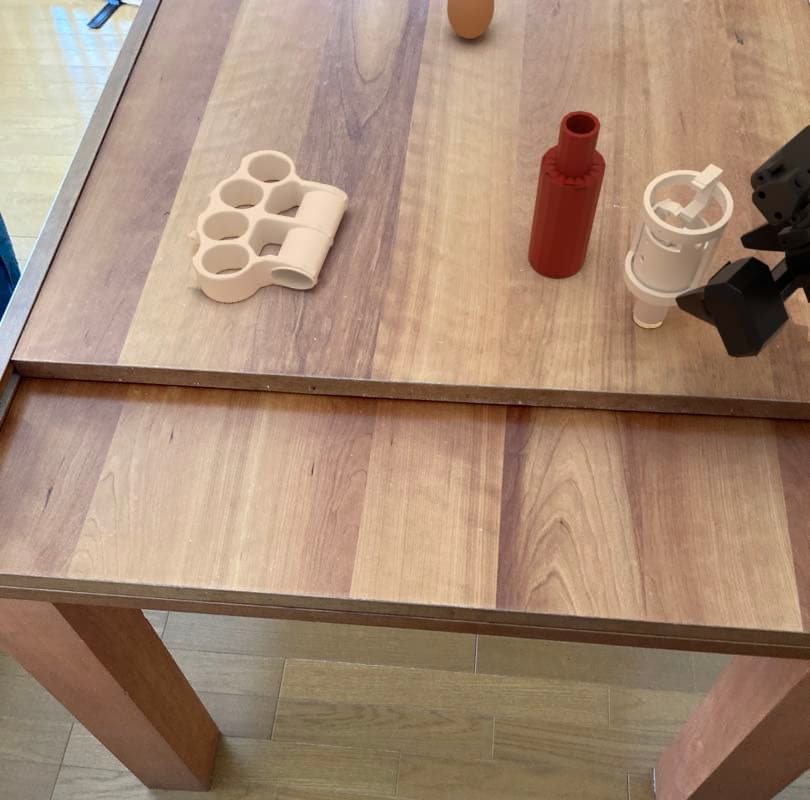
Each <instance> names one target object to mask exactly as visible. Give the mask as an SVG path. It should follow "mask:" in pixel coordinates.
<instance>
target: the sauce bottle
mask: <svg viewBox="0 0 810 800" xmlns="http://www.w3.org/2000/svg"><path fill="white" fill-rule="evenodd" d="M561 119H562V120H561V122H560V127H559V132H558V139H557V144H556V145H554V146H552V147H550V148H548V149H547V151H546V152H545V153H544V154H543V155H542V157H541V161H540V167H539V175H538V182H537V188H536V195H535V201H534V210H533V215H532V216H533V217H532V222H531V223H532V225H531V231H530V238H529V245H528V255H527V257H528V263H529V265H530V267H532V268H533V270H534V269H535V270H534V271H535V272H536V273H538V274H540V275H541V274H542V275H541V276H544V277H546V276H547V277H546V278H550V277H551V278H550V279H565V278H568V277H567V276H569V277H571V275H572V276H574V275H575V274H577V273H578V272H579V271H580V270H581V269H582V268H583V266H584V264H585V261H586V257H587V252H588V248H589V243H590V239H591V234H592V229H593V225H594V222H595V217H596V213H597V208H598V203H599V199H600V195H601V191H602V185H603V182H604V177H605V172H606V167H607V165H606V162H605V161H606V160H605V158H604V156H603V155H602V154H601V153H600V152H599V151H598V150H597V149H596V148H597V145H598V140H599V136H600V130H601V126H602V125H601V122H600V120H599V117H597V116H596V115H594V114H593V113H592V112H588V111H584V110H577V111H571V112H569V113H567V114H566V115H564V116H563V117H562V118H561ZM581 267H582V268H581ZM577 271H578V272H577ZM576 272H577V273H576ZM573 274H574V275H573ZM564 277H565V278H564Z"/></svg>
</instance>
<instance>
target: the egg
mask: <svg viewBox="0 0 810 800" xmlns="http://www.w3.org/2000/svg"><path fill="white" fill-rule="evenodd" d="M446 7H447V9H446V10H447V11H446V13H447V19H448V22H449V24H450V26H451V28H452V29H453V31H454V32H455V33H456V34H457V35H459V36H460V37H461V38H464V39H470V40H471V39H476V38H478V37H479V36H481V35H482V34H483V33H485V32H486V31H487V29H488V28H489V26H490V24H491V23H492V20H493V18H494V13H495V0H447V5H446Z"/></svg>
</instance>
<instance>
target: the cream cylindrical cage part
mask: <svg viewBox="0 0 810 800" xmlns="http://www.w3.org/2000/svg"><path fill="white" fill-rule="evenodd" d="M723 173H724V169H722V168H720V167H718V166H717V165H715V164H712V163H710V164H709V165H708V166H707V167H706V168H705V169H703V170H702V171H697V170H692V169H691V170H689V169H679V170H677V169H676V170H672V171H668V172H665V173H663V174H660V175H658V176H656V177H655V178H654V179H653V180H651V181H650V183H649V184H648V185H647V187H646V188H645V191H644V193H643V197H642V201H641V204H640V214H639V217H638V220H637V224H636V227H635V230H634V235H633V238H632V242H631V245H630V248H629V251H628V253H627V254H626V257H625V260H624V263H623V267H622V278H623V281H624V284H625V286H626V288H627V289H628V290H629V292H630V293H631V294H632V295H633V296H635V297H636V300H635V303H634V304H635V305H634V307H633V309H632V312H634V316H635V317H636V318H637V319H638V320H640V321H641V322H643V323H646V324H657V323H659V322H662V321H663V320H664V321H665V320H666V317H667V313H668V311H669V308H670V307H674V306H678V305H677V303H676V300H675V298H676V297H677V296H678V295H680V294H683V293H685V292H688V291H690V290H693V289H696V288H699V287H702V286H703V284H704V282H705V279H706V276H707V273H708V271H709V268H710V266H711V263H712V261H713V258H714V256H715V253H716V251H717V249H718V247H719V244H720V242H721V240H722V237H723V234H724V232H725V229H726V228H727V227H728V224H729V222H730V219H731V216H732V215H733V211H734V200H733V197H732V193H731V192H730V191H729V189H728V188H727V187H726V186H725V185H724V183H723V182H721V179H722V176H723ZM675 186H687V187H689V188H690V189H691V190H693V191H695V195H694V198H693V200H691V202H689V204H687V205H686V206H685V207H684V206H682V205H681V204H680V203H679V202H677V201H673V200H672V198H665V199H663V200H661V201H659V202H657V203H656V200H657V197H658V194H659V191H661V190H663V189H666V188H669V187H675ZM713 199H715V200H716V201H717V202H718V204H719V205H720V209H721V211H722V217H721V219H720V220H718V221H717V222H715V224H713V225H710V223H709V222H708V221H707V219H706V218H704V217H703V216H702V215H701V214H702V213H704V212H705V211H706V210H707V209H708V208H709V207H710V206H711V204H712V202H713ZM655 203H656V204H655ZM667 217H668V218H670V219H672V220H674V221H676V220H677V219H678V218H681V219H683V223H682V226H681V227H677V226H673V225H672V224H669V223H667V222H666V219H667ZM632 263H633V264H632Z"/></svg>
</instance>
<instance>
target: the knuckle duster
mask: <svg viewBox="0 0 810 800" xmlns="http://www.w3.org/2000/svg"><path fill="white" fill-rule="evenodd" d="M269 181H276V182H269ZM206 196H207V198H208V199H209V204H208V206H207V207H206V209H205V210H204V211H203V212H202V213H201V214H199V215H198V216H197V222H196V229H194V230H193V231H191V232H189V233H188V234H186V235H185V238H188V239H190V240H191V241H194V242H195V243H198V244H199V247H198V249H197V251H196V253H195V254H194V256H193V257H192V258H191V262H192V263H191V264H192V266H193V269H194V272H195V275H196V277H197V280H198V283H199V285H200V288H201V290H202V291H203V293H204V294H205V295H206V297H208V298H210V299H211V300H213V301H216V302H219V303H224V302H225V304H231V303H232V302H233V303H238V301H239V302H241V301H244V300H246V299H249V298H250V297H252V296H253V295H254V294H256V293H257V292H258V290H260V289H261V288H263V287H267V286H270V285H275V286H280V287H286V288H290V289H294V290H309V289H312V288H314V286H316V285H317V283H318V281H319V280H318V277H319V275H320V272H321V270H322V268H323V265H324V262H325V260H326V257H327V256H328V253H329V250H330V248H331V247H333V245H334V239H335V236H336V234H337V231H338V229H339V227H340V224H341V221H342V219H343V217H344V214H345V211H347V210H348V208H349V202H350V198H349V196H348V194H347V193H346V192H345V191H343V190H342V189H341V188H338V187H336V186H334V185H331V184H327V183H321V182H317V181H312V180H305V179H302V178H301V177H300V176H299V175H298V172H297V168H296V164H295V163H294V160H292V159H291V157H289V156H288V155H287V154H285V153H284V152H281V151H277V150H273V149H264V150H258V151H253V152H252V153H249V154H247V155H245V156H244V157H243V158H242V159H241V163H240V166H239V168H238V169H237V171H235V173H233V174H232V175H231V176H229V177H227V178H225V179H222V180H221V181H220V182H219V183H218V184H217V185H216V186H215V187H214V188H213V189H212V191H210V193H207V194H206ZM246 205H248V206H249V205H250V206H251V207H249V208H237V207H241V206H246ZM293 207H298V209H297V211H296V213H295V215H294V217H292V216H287V215H282V214H280V213H282V212H286V211H288V210H290V209H292V208H293ZM232 237H233V238H234V237H237V238H234V239H233V238H232ZM225 238H232V239H225ZM269 244H275V245H280V246H281V247H280V249H279V252H278V254H277V255H274V254H266V255H263V256H260V254H261V251H262V250H263V248H264V247H265V246H266V245H269ZM233 269H240V270H238V271H237V272H233V273H224V274H223V273H221V272H223V271H226V270H233ZM219 273H221V274H219Z"/></svg>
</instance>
